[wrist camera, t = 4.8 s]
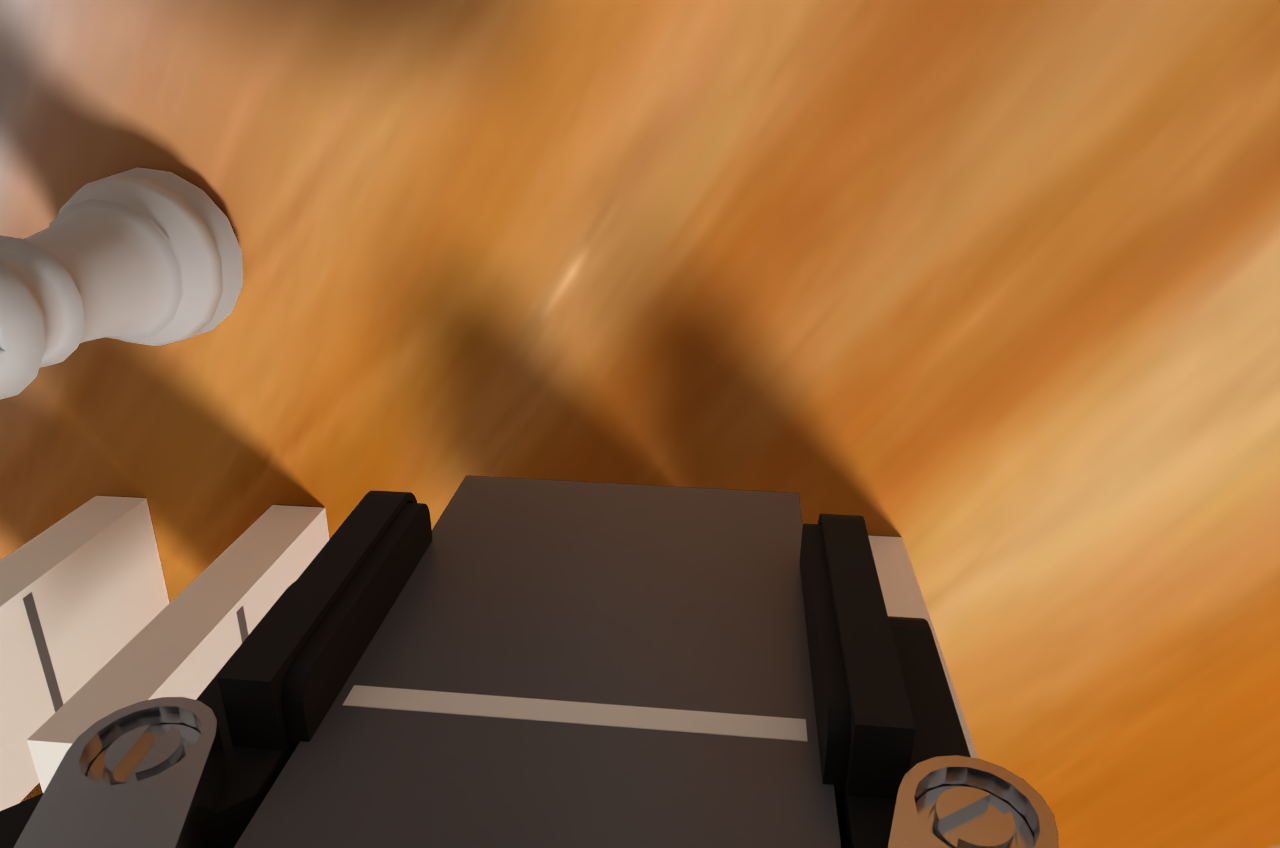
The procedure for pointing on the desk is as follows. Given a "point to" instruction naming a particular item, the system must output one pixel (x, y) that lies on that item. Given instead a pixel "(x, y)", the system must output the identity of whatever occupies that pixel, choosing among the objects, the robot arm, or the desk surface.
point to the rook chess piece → (116, 272)
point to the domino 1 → (69, 618)
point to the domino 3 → (577, 683)
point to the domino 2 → (192, 629)
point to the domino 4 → (908, 600)
